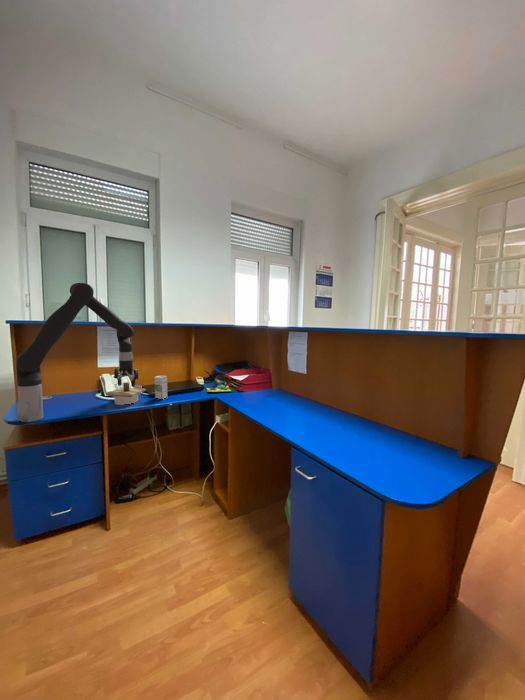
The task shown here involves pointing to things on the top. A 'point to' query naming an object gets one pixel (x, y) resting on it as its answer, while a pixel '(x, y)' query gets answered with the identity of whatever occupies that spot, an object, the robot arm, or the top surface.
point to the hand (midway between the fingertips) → (126, 385)
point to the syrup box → (160, 387)
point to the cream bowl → (125, 400)
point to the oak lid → (126, 391)
